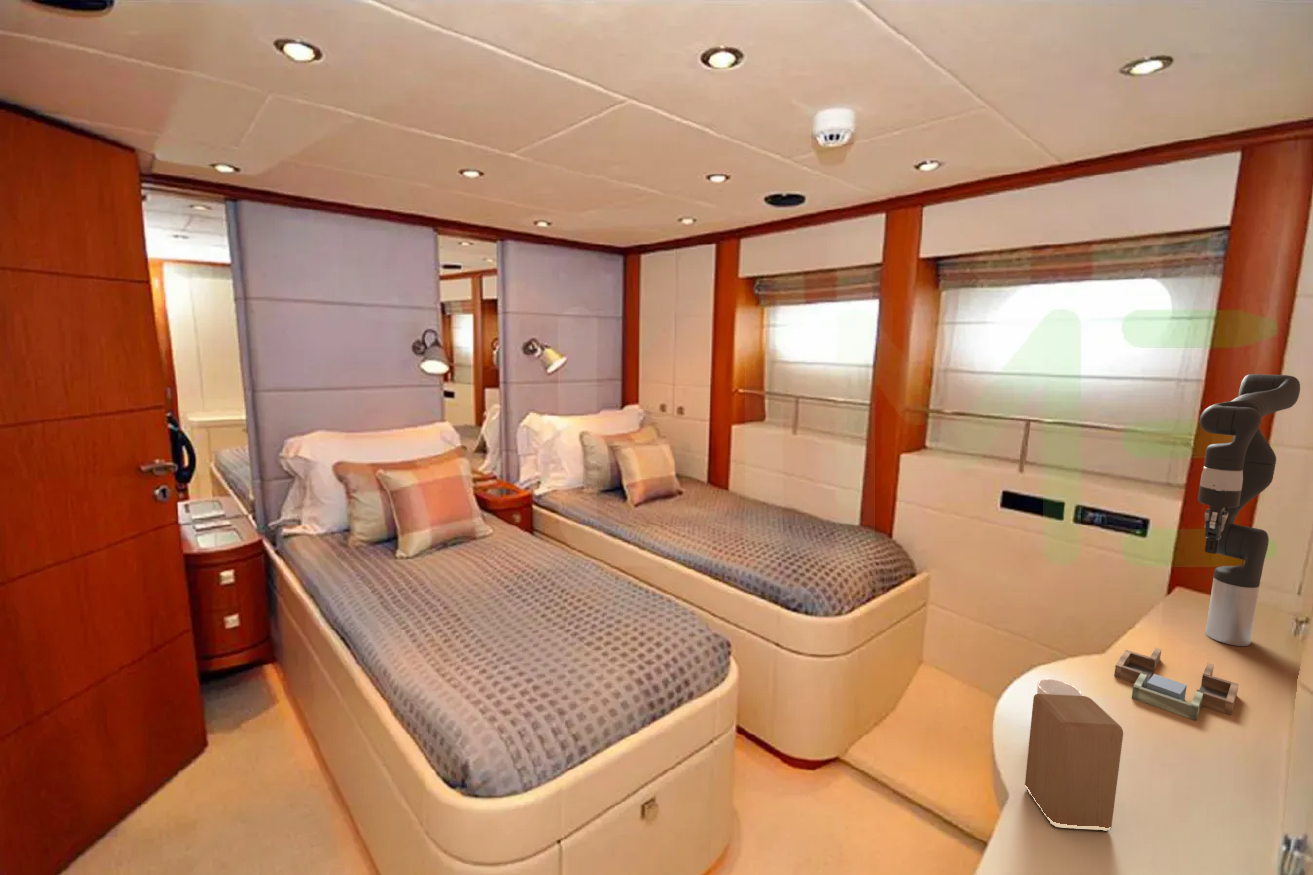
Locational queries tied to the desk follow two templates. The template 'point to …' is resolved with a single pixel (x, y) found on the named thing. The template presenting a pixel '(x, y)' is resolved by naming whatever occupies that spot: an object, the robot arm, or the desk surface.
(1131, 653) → the box
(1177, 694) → the slate block
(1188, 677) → the desk surface
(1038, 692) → the white cup
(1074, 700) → the wooden block
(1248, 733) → the desk surface
